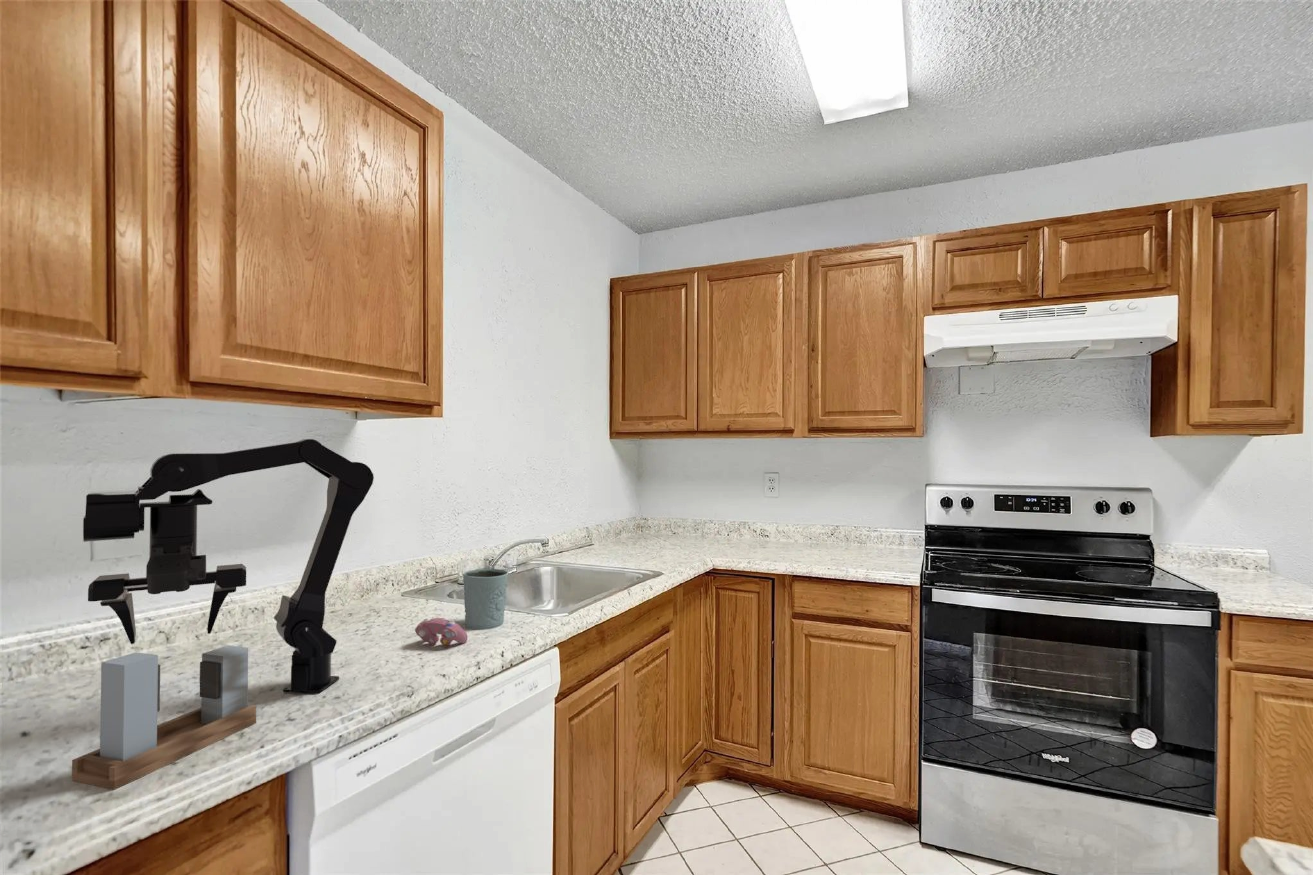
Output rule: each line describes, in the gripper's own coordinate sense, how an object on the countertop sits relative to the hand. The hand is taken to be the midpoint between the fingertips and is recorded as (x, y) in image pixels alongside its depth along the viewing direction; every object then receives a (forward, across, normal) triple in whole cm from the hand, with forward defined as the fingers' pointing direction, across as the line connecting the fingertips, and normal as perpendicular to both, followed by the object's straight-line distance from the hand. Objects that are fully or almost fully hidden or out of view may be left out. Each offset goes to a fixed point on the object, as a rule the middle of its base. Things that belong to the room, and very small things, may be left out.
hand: (172, 638), depth 95 cm
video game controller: (+12, +44, +14) cm, 48 cm away
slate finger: (+11, -3, -16) cm, 20 cm away
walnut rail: (+12, +1, -13) cm, 18 cm away
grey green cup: (+12, +56, +23) cm, 62 cm away
